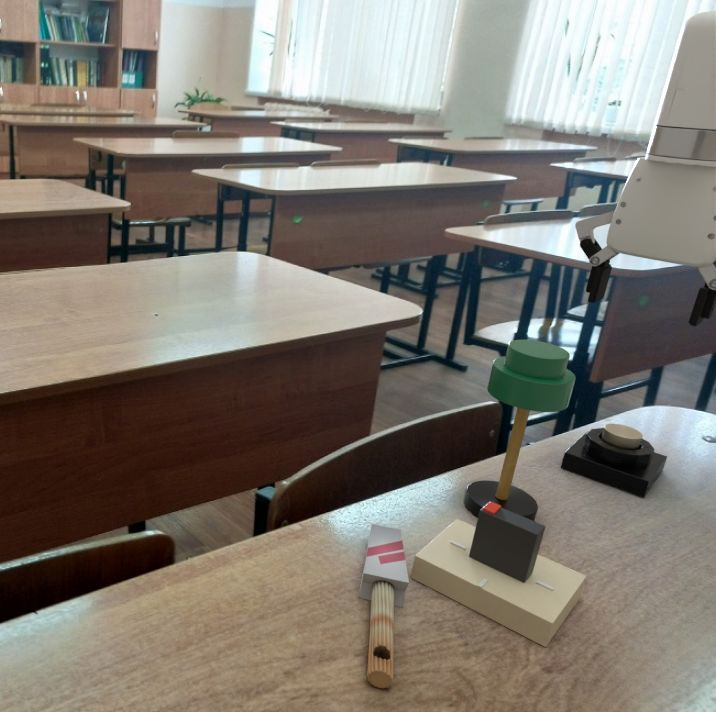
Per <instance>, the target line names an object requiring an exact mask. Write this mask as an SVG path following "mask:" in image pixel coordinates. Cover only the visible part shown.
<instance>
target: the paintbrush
mask: <svg viewBox="0 0 716 712" xmlns="http://www.w3.org/2000/svg"><path fill="white" fill-rule="evenodd" d="M405 555H406V554H405V548H404V542H403V535H402V530H401V529H400V528H395V527H389V526H383V525H380V524H374V523H371V525H370V532H369V536H368V542H367V547H366V553H365V559H364V564H363V568H362V575H361V580H360V581H361V582H360V586H359V591H358V599H363V600H367V601H370V620H369V621H370V624H369V638H368V639H369V640H368V641H369V644H368V654H367V655H368V657H367V669H366V671H367V672H366V677H367V681H368V682H369V684H371V685H373V687H375V688H378V689H385V688H387V689H388V688H389V687H391V686H392V685H393V683H394V616H395V615H394V611H395V607H398V608H404V602H405V594H406V590H407V588H408V586H409V584H410V580H409V574H408V568H407V561H406V556H405Z"/></svg>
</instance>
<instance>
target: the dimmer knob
mask: <svg viewBox="0 0 716 712" xmlns="http://www.w3.org/2000/svg"><path fill="white" fill-rule="evenodd" d="M476 520H477V521H476V525H475V527H476V529H475V533H474V537H473V541H472V545H471V549H470V554H469V557H471V558H473V559H475V560H477V561H479V562H482V563H484V564H486V565H488V566H490V567H492V568H494V569H496V570H499V571H501V572H503V573H505V574H507V575H509V576H511V577H513V578H516V579H518V580H520V581H522V582H525V581H526V580H527V579H528V578H529V577H530V575H531V574H532V573H533V569H534V566H535V562H536V559H537V555H539V551H540V548H541V544H542V540H543V537H544V534H545V530H546V525H544V524H541V523H539V522H536V521H535V520H534V521H532V520H530V519H527V518H525V517H522V516H520V515H518V514H515V513H513V512H510V511H508V510H506V509H503V508H501V505H498V504H496V503H493V502H489V503H488V504H486V505H485V506H484V507H483V508H482V509H481V510H480V512H479V516H478V517H477V519H476Z"/></svg>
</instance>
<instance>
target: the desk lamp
mask: <svg viewBox="0 0 716 712" xmlns="http://www.w3.org/2000/svg"><path fill="white" fill-rule="evenodd" d="M570 356H571V355H570V352H569V351H568V350H566V349H565V348H562V347H560V346H558V345H556V344H552V343H549V342H544V341H541V340H534V339H515V340H514V339H513V340H511V341H509V342H508V344H507V348H506V352H505V355H503V356H500V357H496V358H494V360H493V362H492V366H491V370H490V375H489V379H488V384H487V387H486V388H487V393H488V394H489V395H490V396H492V397H493V398H494V399H496V400H497V401H499V402H502V403H503V404H506V405H508V406H511V407H515V408H516V412H515V416H514V419H513V424H512V427H511V432H510V436H509V440H508V443H507V444H508V445H507V448H506V451H505V457H504V459H503V460H504V461H503V465H502V468H501V472H500V477H499V480H498V481H496V480H487V479H486V480H484V479H483V480H476V481H473V482H470V483H469V484H468V485H467V486H466V488H465V493H464V497H463V504H464V506H465V508H466V510H467V511H468V512H469V513H470V514H472V515H473V516H475V518H478V516H479V512H480V510H481V509H482V508H483V507H484V506H485V505H486V504H488V503H489V502H493V503H496V504H498V505H501V508H503V509H506V510H508V511H510V512H513V513H515V514H518V515H520V516H522V517H525V518H527V519H530V520H532V521H534V522H535V520H536V516H537V513H538V509H539V505H538V503H537V501H536V499H535V498H534V497H533V496H532V495H531V494H529V493H528V492H527V491H525V490H524V489H522V488H519V487H517V486H515V485H512V483H513V479H514V475H515V471H516V467H517V463H518V460H519V455H520V452H521V449H522V443H523V440H524V436H525V432H526V428H527V425H528V420H529V417H530V412H531V411H532V412H539V413H558V412H562V411H565V410H566V409H567V408H568V407H569V404H570V400H571V397H572V394H573V390H574V386H575V382H576V380H577V379H576V375H575V374H574V373H573V372H572V371H571V370H570V369H568V368H567V367H568V365H569V361H570V358H571V357H570Z"/></svg>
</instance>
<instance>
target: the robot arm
mask: <svg viewBox="0 0 716 712" xmlns="http://www.w3.org/2000/svg"><path fill="white" fill-rule="evenodd" d="M606 225H609V227H608V231H607V234H606V246H605V247H603V248H602V247H601V245H600V244H599V242H598V241H597V239H595V234H594V230H595V229H596V228H600V227H603V226H606ZM574 228H575V230H576V234H577V237H578V240H579V247H580V248H581V250H582V252H583V253H584V255H585V256H586V257H587V259H588V264H589V265H590V266H591V269H590V273H589V276H588V280H587V283H586V287H585V293H587V294H588V293H589V294H588V298H587V302H588V303H592V304H594V303H597V302H599V301H601V300H604V297H605V295H606V291H607V289H608V288H607V287H608V283H609V281H610V277H611V274H612V268H613V266H612V264H611V260H612V259H614V258H615V257H617V256H618V255H620V254H622V255H626V256H631V257H637V258H642V259H648V260H654V261H659V262H664V263H669V264H674V265H675V264H676V265H680V266H687V267H692V268H693V267H696V269H697V270H698V272H699V274H700V275H701V277H702V278H703V280H704V284H703V285H702V286H701V287H700V288H699V290H698V291H697V295H696V298H695V301H694V304H693V308H692V310H691V314H690V316H689V319H688V324H689V325H690V326H691V327H692V326H693V327H698V326H699V325H700V324H702V323H703V321H704V319H706V320H710V319H711V318H712V316H713V313H714V311H715V308H716V10H711V11H703V12H699V13H696V14H694V15H692V16H690V17H689V18H688V19H687V20H686V21H685V23H684V24H683V25H682V27H681V30H680V33H679V36H678V39H677V42H676V46H675V50H674V53H673V57H672V60H671V64H670V67H669V71H668V74H667V78H666V82H665V85H664V88H663V91H662V96H661V99H660V104H659V107H658V110H657V116H656V117H655V121H654V126H653V128H652V133H651V136H650V138H649V142H648V145H647V150H646V154H645V156H640V157H637V159H636V161H635V163H634V164H633V167H632V169H631V171H630V173H629V175H628V177H627V179H626V182H625V184H624V187H623V188H622V191H621V194H620V195H619V198H618V202H617V204H616V208H615V209H614V210H612V211H608V212H605V213H602V214H598V215H595V216H590V217H587V218H584V219H579V220H578V221H576V222H575V227H574Z"/></svg>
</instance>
